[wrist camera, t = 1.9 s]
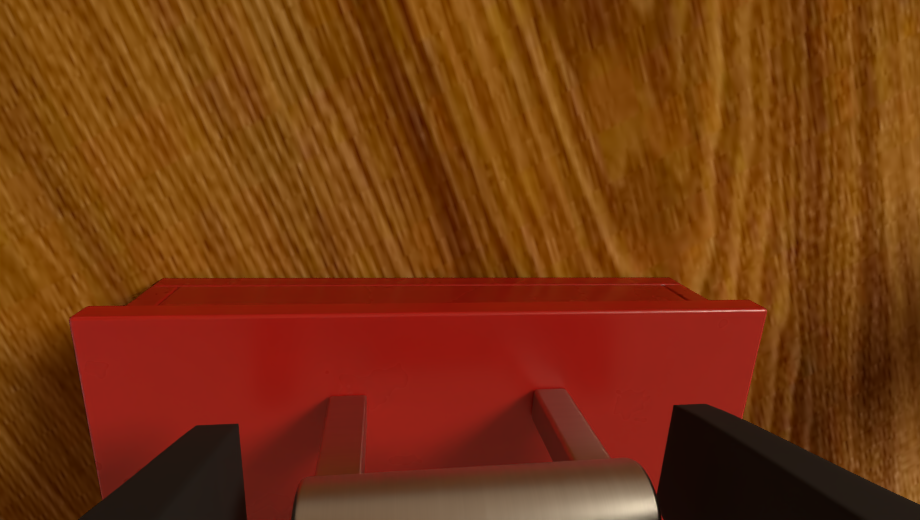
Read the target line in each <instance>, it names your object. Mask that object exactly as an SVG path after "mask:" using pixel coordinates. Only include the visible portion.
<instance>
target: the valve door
mask: <svg viewBox="0 0 920 520" xmlns="http://www.w3.org/2000/svg"><path fill="white" fill-rule="evenodd" d="M766 315H767V309H766V308H764V307H762V306H760V305H758V304H756V303H754V302H752V301H750V300H688V301H582V302H476V303H370V304H263V305H157V306H88V307H85V308H84V309H82V310H81V311H79V312H78V313H76V314H75V315H73V316H72V317H70V320H69V323H70V329H71V334H72V339H73V345H74V350H75V356H76V361H77V367H78V372H79V377H80V383H81V388H82V394H83V399H84V404H85V410H86V415H87V421H88V426H89V431H90V437H91V442H92V448H93V453H94V458H95V464H96V469H97V475H98V480H99V486H100V491H101V496H102V500H103V499H104V498H106V497H107V496H108V495H109V494H111V493H112V492H113V491H114V490H116V489H117V488H118V487H120V486H121V485H122V484H123V483H125V482H126V481H127V480H128V479H130V478H131V477H132V476H133V475H134V474H136V473H137V472H138V471H139V470H141V469H142V468H143V467H144V466H146V465H147V464H148V463H149V462H150V461H152V460H153V459H154V458H155V457H157V456H158V455H159V454H160V453H161V452H163V451H164V450H165V449H166V448H168V447H169V446H170V445H171V444H173V443H174V442H175V441H176V440H178V439H179V438H180V437H181V436H183V435H184V434H185V433H187V432H188V431H189V430H191V429H192V428H193V427H195V426H196V425H215V424H239V434H240V445H241V457H242V468H243V479H244V490H245V502H246V513H247V520H663V518H662V515H661V511H660V507H659V502H658V498H657V490H658V485H659V479H660V474H661V469H662V463H663V458H664V453H665V447H666V442H667V437H668V432H669V426H670V421H671V416H672V410H673V405H685V404H708V405H711V406H713V407H716V408H718V409H721V410H723V411H726V412H728V413H730V414H732V415H735V416H737V417H739V418H741V419H742V417H743V413H744V409H745V405H746V400H747V396H748V392H749V388H750V383H751V379H752V375H753V370H754V366H755V362H756V358H757V353H758V349H759V345H760V340H761V336H762V332H763V328H764V323H765V319H766Z"/></svg>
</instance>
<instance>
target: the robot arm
mask: <svg viewBox="0 0 920 520" xmlns="http://www.w3.org/2000/svg"><path fill="white" fill-rule="evenodd" d="M657 498H658V502H659V507H660V511H661V515H662V518H663V520H920V505H919V504H917V503H915V502H913V501H911V500H908V499H906V498H904V497H902V496H900V495H897V494H895V493H893V492H891V491H889V490H887V489H885V488H883V487H881V486H879V485H876V484H874V483H872V482H870V481H868V480H866V479H864V478H862V477H860V476H858V475H856V474H854V473H851V472H849V471H847V470H845V469H843V468H841V467H839V466H837V465H835V464H833V463H831V462H829V461H827V460H825V459H823V458H821V457H819V456H817V455H815V454H813V453H811V452H809V451H807V450H805V449H803V448H801V447H799V446H797V445H795V444H793V443H791V442H789V441H787V440H785V439H783V438H781V437H779V436H776V435H774V434H772V433H770V432H768V431H766V430H764V429H762V428H760V427H758V426H756V425H754V424H752V423H750V422H748V421H745V420H743V419H741V418H739V417H737V416H735V415H732V414H730V413H728V412H726V411H723V410H721V409H718V408H716V407H713V406H711V405H708V404H685V405H673V410H672V416H671V421H670V426H669V432H668V437H667V442H666V447H665V453H664V458H663V463H662V469H661V474H660V479H659V485H658V490H657ZM78 520H247V513H246V502H245V490H244V479H243V468H242V457H241V445H240V434H239V424H215V425H196V426H195V427H193V428H192V429H191V430H189V431H188V432H187V433H185V434H184V435H183V436H181V437H180V438H179V439H178V440H176V441H175V442H174V443H173V444H171V445H170V446H169V447H168V448H166V449H165V450H164V451H163V452H161V453H160V454H159V455H158V456H157V457H155V458H154V459H153V460H152V461H150V462H149V463H148V464H147V465H146V466H144V467H143V468H142V469H141V470H139V471H138V472H137V473H136V474H134V475H133V476H132V477H131V478H130V479H128V480H127V481H126V482H125V483H123V484H122V485H121V486H120V487H118V488H117V489H116V490H114V491H113V492H112V493H111V494H109V495H108V496H107V497H106V498H104V499H103V500H102V501H101V502H99V503H98V504H97V505H96V506H94V507H93V508H92V509H91V510H89V511H88V512H87V513H86V514H84V515H83V516H82V517H80V518H79V519H78Z"/></svg>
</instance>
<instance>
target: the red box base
mask: <svg viewBox="0 0 920 520" xmlns="http://www.w3.org/2000/svg"><path fill="white" fill-rule="evenodd" d="M688 300H707V299H706V298H704V297H702V296H700V295H699V294H697V293H695V292H693V291H692V290H690V289H688V288H687V287H685V286H683V285H681V284H680V283H678V282H676V281H675V280H673V279H671V278H163V279H161V280H160V281H158V282H157V283H156V284H154V285H153V287H150V288H149V289H147V290H146V291H145V292H144V293H142V294H141V295H140V296H138V297H137V298H136V299H134V300H133V301H132V302H130V303H129V304H128V305H126V306H157V305H263V304H370V303H476V302H582V301H688Z"/></svg>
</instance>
